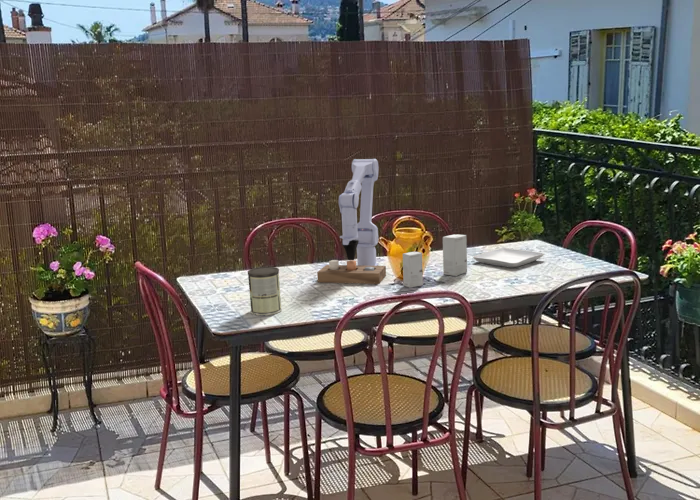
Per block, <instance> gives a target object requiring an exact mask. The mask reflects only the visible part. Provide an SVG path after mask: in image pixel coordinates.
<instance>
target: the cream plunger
mask: <svg viewBox="0 0 700 500" xmlns="http://www.w3.org/2000/svg"><path fill="white" fill-rule="evenodd" d="M328 263H329V264H328V265H329V267H330V270H339V265H340V264H339V263H340V262H339V260H338V259H332V260H329V261H328Z"/></svg>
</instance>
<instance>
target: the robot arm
mask: <svg viewBox="0 0 700 500" xmlns="http://www.w3.org/2000/svg"><path fill="white" fill-rule="evenodd" d="M379 169H380V168H379V161H378V160H377V159H376V158H365V159H363V158H362V159H361V158H360V159H359V158H358V159H356V158H354V159H353V160H352V161H351V172H352V177H351V180H349V181H348V182H347V184H346V185H345V189H344V191H343V193H341V194H339V196H338V207H339V212H340V214H341V228H342V229H341V230H342V235H339V239H342V242H341V245H342V246H343V249H344V250H345V254H346V257H347V259H348V260H347V261H350V260H355V258H356V259H357V260H356V264H357V265H365V266H379V265H380V264H379V262H377V250H376V247H375V246H377V245H378V242H379V228H378V226H377V225H376V224H374V223H373V222H372V221H373V220H372V219H373V218H372V217H373V200H374V199H373V198H374V197H373V196H374V185H375V182H376V181H378V177H379ZM360 194H361V195H360ZM359 196H360V197H359ZM359 200H360V208H359V209H360V210H359V211H360V213H359V222H358V216H357V215H358V214H357V213H358V211H357V208H358V207H359Z"/></svg>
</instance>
